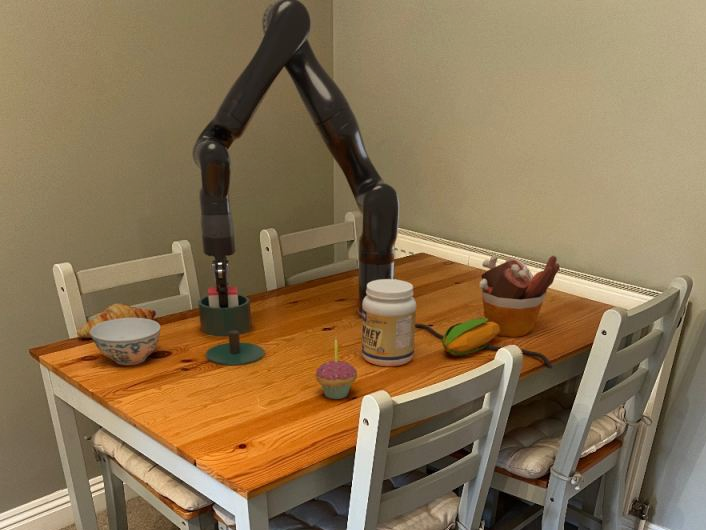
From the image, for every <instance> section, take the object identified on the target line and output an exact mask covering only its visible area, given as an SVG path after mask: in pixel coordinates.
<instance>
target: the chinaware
mask: <svg viewBox="0 0 706 530" xmlns="http://www.w3.org/2000/svg"><path fill="white" fill-rule="evenodd" d="M90 334H91V336H92V338H91V340H92V341H93V343H94V344H95V347H96V348H97V349H98V350H99V351H100V352H101V353H102V354H103V356H106V358H108V359H110V360H112V361H114V362H115V363H116V364H118V365H124V366H130V365H131V366H132V365H137V364H141V363H143V362H144V361H146V359H147V358H148V357H149V356H151V354H152V353H153V352H154V351H155V349H156V348H157V345H158V344H159V341H160V336H161V324H160V323H158V321H155V320H154V319H153V320H150V319H144V318H121V319H114V320H109V321H105V322H102V323H99V324H97V325H95V326H94V327H93V328H92V329H91V330H90Z"/></svg>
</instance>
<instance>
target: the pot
mask: <svg viewBox="0 0 706 530" xmlns="http://www.w3.org/2000/svg"><path fill="white" fill-rule="evenodd" d="M197 304H198V312H199V322H200V329H201V332H202V333H203V334H205V335H209V336H212V337H225V338H226V337H229V335H228V332H229V331H231V330H237V331H239V336H240V335H244V334H246V333H248V332H250V331H251V329H252V327H253V326H252V325H253V324H252V314H251V312H252V311H251V300H250V297H248V296H246V295H243V294H239V293H238V306H235V307H228V308H214V307H209V298H208V295H205V296H202V297H201V298H200V299H199V300H198V301H197Z"/></svg>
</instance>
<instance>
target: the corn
mask: <svg viewBox="0 0 706 530" xmlns="http://www.w3.org/2000/svg"><path fill="white" fill-rule="evenodd" d="M485 321H488V318H485V317H481V318H474V319H470V320H467V321H464V322H460V323H456V324H453V325H451V326H450V327H449V328H447V330H445V332H444V334H443V339H441V343H442V346H443V349H444V351H445V353H446V354H449V355H450V356H454V357H462V356H463V357H464V356H466V355H471V354H473V353H476V352H478V351H481V350H484V349H483V348H484V347H486V346H490V344H489V342H490V341H491V340H493V339H494V337H496V336H498V335H497V334H498V333H499V332H500V326H499V325H498V324H496V323H494V322H485ZM445 337H446V338H445ZM483 345H486V346H483ZM482 346H483V347H482ZM479 347H481V348H479Z"/></svg>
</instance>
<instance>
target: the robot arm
mask: <svg viewBox="0 0 706 530" xmlns="http://www.w3.org/2000/svg"><path fill="white" fill-rule="evenodd" d="M311 21H312V20H311V15H310V13H309V10H308V8H307V6H306V5H304V3H303V2H301V1H300V0H276V1H273V2H271V3H270V4H269V5H268V6H266V8H265V9H264V11H263V13H262V17H261V29H262V32H263V37H262V39H261V42H260V44H259V46H258V48H257V50H256V51H255V53H254V54H253V56H252V58H251V59H250V61H249V62H248V64H247V65H246V66H245V68H244V69H243V70H242V71H241V73H240V74H239V75H238V77H236V79H235V81H234V82H233V83H232V85H231V87H230V88H229V89H228V91H227V92H226V94H225V96H224V98H223V100H222V102H221V103H220V105H219V107H218V108H217V111H216V113H215V115H214V116H213V117H212V119H211V120H210V121H209V122H208V123H207V125H206V126H205V127H204V129H203V130H202V131H201V133H200V134H199V135H198V136H197V138H196V140H195V142H194V144H193V146H192V152H191V157H192V160H193V162H194V164H195V166H196V167H197V168H198V169H199V170H200V176H201V177H200V178H201V179H200V180H201V187H200V188H199V191H198V198H199V199H198V200H199V208H200V209H199V212H200V230H201V238H202V239H201V242H202V251H203V254H204V255H206V256H208V257H213V258H214V259H211V260H212V261H211V268H212V269H211V270H212V271H213V280H214V283H215V287H217V289H216V291H217V293H218V298H219V307H220V308H228V294H227V293H228V289H227V287H229V282H230V261H229V259H228V257H229V256H233V255H234V254H235V253H236V242H235V241H236V240H235V230H234V229H235V228H234V227H235V226H234V219H233V215H232V205H231V204H232V203H231V195H230V188H231V178H232V177H231V176H232V160H231V155H230V152H229V149H230V147H231V146H232V145H233V143H234V142H235V141H236V140H238V139H240V138H241V137H242V136H243V135H244V133H245V132H246V130H247V129H248V127H249V125H250V123H251V122H252V120H253V118H254V117H255V115H256V113H257V112H258V110H259V107H260V106H261V104H262V103H263V100H264V99H265V97H266V95H267V93H269V90H270V89H271V87H272V85H273V84H274V82H275V80H276V79H277V78H278V76H279V74H280V73H281V72H282V70H283V69H285V71H286V72H287V74H288V75H289V77H290V78H291V81H292V82H293V84H294V86H295V89H296V91H297V93H298V95H299V97H300V100H301V101H302V103H303V105H304V108H305V109H306V111H307V113H308V116H309V118H310V119H311V121H312V123H313V125H314V127H315V128H316V131H317V132H318V134H319V136H320V138H321V139H322V141H323V143H324V144H325V146H326V148H327V149H328V152H329V153H330V155H331V156H332V157H333V159H334V161H335V162H336V163H337V165H338V166H339V168H340V170H341V171H342V173H343V175H344V177H345V179H346V181H347V183H348V186H349V189H350V190H351V193H352V196H353V198H354V200H355V203H356V205H357V208H358V210H359V211H360V213H361V214H362V232H361V235H360V236H359V238H358V301H357V315H358V316H359V317H361V318H362V304H363V300H364V298H365V297H366V296H367V294H366V290H367V284H368V283H369V282H371V281H375V280H381V279H394V280H398V279H397V278H396V277H395V255H396V254H395V253H396V241H397V238H398V234H399V220H400V198H399V195H398V192H397V190H396V189H395V188H394V187H393V186H392V185H390V184H389V183H388V182H385V180H384V179H383V178H382V177H381V175H380V174H379V172H378V170H377V169H376V167H375V165H374V164H373V162H372V160H371V158H370V156H369V154H368V151H367V148H366V145H365V141H364V137H363V133H362V130H361V127H360V124H359V121H358V120H357V117H356V115H355V113H354V111H353V108H352V107H351V104H350V103H349V101H348V99H347V97H346V95H345V94H344V92H343V91H342V90H341V88H340V87H339V85H338V84H337V83H336V81H335V80H334V79H333V78H332V77H331V75H330V74H329V73H328V72H327V71H326V69H325V67H323V65H322V64H321V63H320V61H319V60H318V57H317V56H316V54H315V52H314V49H313V48H312V45H311V43H310V42H309V39H308V38H309V35H310V32H311V29H312V28H311V27H312V22H311ZM415 328H418V329H424V330H426V331H428V332H429V333H431V334H432V335H433V336H435V337H436V338H438V339H440V340H442V339H443V336H444V334H441V333H439V332H438V331H436V330H434V329H433V328H432V327H430V326H429V325H426V324H424V323H415ZM446 337H447V336H446ZM446 337H445V338H446ZM486 345H487V344H485V345H483V346H486ZM483 346H482V347H483ZM501 347H502V346H495V345H488V346H486V347H484V348H483V349H482V350H490V351H497V350H498V349H500V348H501ZM479 348H481V347H479ZM520 349H521V350H522V352H523V355H526V356H531V357H536V358H540V359H541V360H542V361H543V362H544V364H545V365H546V366H547V368H548V369H553V368H554V367H553V366H552V363H551V361H550V360H549V359H548V358H547V356H545V355H544V354H542V353H541V352H537V351H531V350H527V349H523V348H520Z"/></svg>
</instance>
